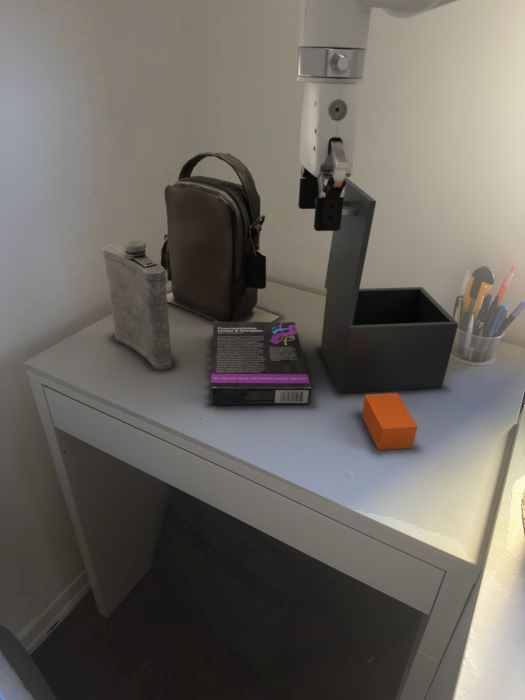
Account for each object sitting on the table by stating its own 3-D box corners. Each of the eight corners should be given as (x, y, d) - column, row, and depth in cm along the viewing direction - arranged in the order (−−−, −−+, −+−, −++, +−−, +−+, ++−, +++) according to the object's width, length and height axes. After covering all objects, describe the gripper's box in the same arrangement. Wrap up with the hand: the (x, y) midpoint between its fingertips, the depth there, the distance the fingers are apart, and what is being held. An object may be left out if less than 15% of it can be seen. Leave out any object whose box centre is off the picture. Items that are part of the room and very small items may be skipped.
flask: (131, 330, 87) (118, 228, 77) (179, 363, 78) (172, 253, 69) (112, 336, 84) (97, 233, 75) (159, 371, 76) (149, 259, 66)
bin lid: (346, 177, 69) (311, 175, 68) (376, 201, 58) (335, 199, 57) (329, 286, 77) (297, 286, 76) (352, 325, 66) (316, 324, 66)
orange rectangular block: (361, 415, 68) (364, 394, 66) (392, 413, 69) (397, 392, 67) (378, 450, 62) (382, 428, 60) (412, 447, 63) (417, 426, 61)
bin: (409, 345, 85) (422, 286, 79) (442, 387, 74) (458, 323, 69) (320, 349, 83) (326, 289, 77) (340, 393, 72) (349, 328, 67)
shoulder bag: (279, 316, 93) (287, 157, 78) (249, 335, 86) (252, 166, 72) (191, 285, 104) (183, 141, 89) (158, 299, 98) (145, 146, 83)
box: (309, 408, 70) (294, 336, 86) (312, 387, 68) (296, 319, 84) (209, 407, 69) (213, 335, 85) (209, 387, 67) (213, 317, 83)
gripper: (389, 71, 49) (365, 239, 58) (342, 66, 64) (329, 201, 73) (314, 69, 48) (302, 240, 57) (284, 64, 63) (278, 201, 72)
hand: (317, 218), depth 65 cm, fingers open, 9 cm apart
